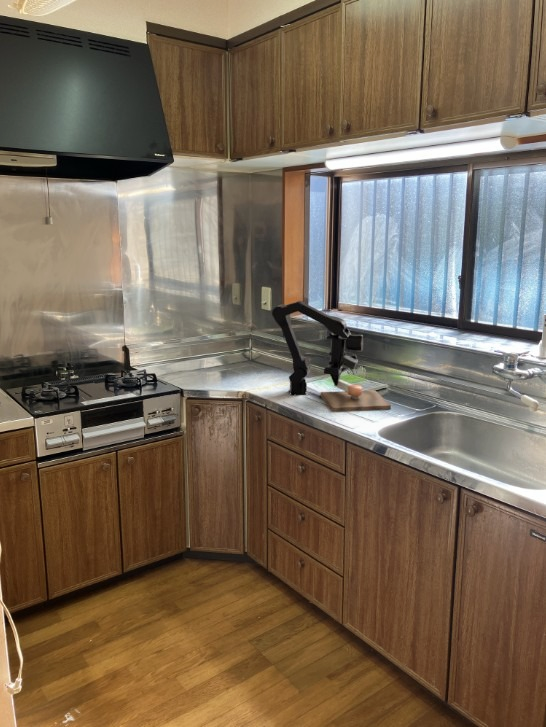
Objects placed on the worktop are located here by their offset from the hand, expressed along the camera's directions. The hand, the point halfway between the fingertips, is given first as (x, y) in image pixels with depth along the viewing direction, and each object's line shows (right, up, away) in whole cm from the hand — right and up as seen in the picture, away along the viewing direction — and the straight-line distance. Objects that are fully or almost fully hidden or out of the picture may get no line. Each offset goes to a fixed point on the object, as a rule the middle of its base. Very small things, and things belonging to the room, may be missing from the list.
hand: (336, 385), depth 252 cm
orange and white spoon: (+4, -2, -2) cm, 5 cm away
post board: (+7, -7, -5) cm, 11 cm away
